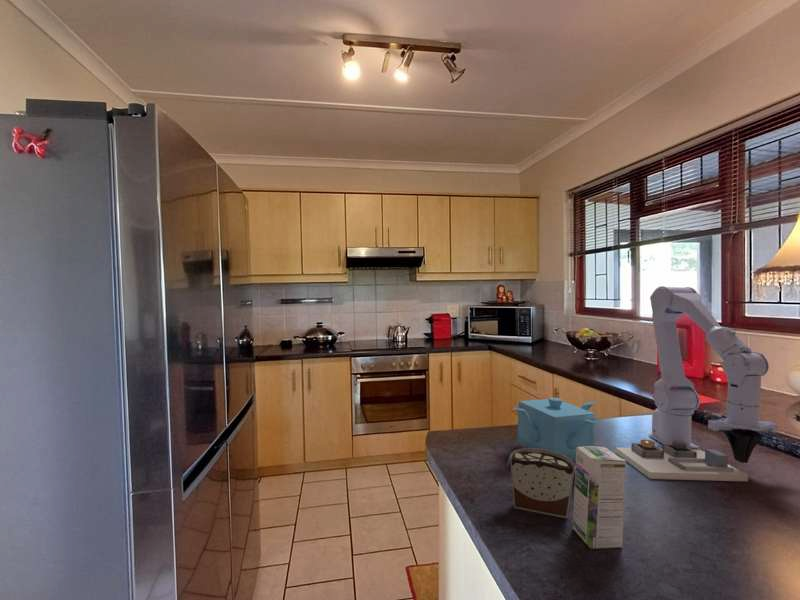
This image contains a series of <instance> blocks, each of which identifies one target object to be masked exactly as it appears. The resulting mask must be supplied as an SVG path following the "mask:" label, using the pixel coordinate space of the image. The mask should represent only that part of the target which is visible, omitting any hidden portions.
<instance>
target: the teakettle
mask: <svg viewBox="0 0 800 600" xmlns="http://www.w3.org/2000/svg"><path fill="white" fill-rule="evenodd" d="M595 404H596V402H594V401H593V402H592V401H589V402H585V403H583V404H582V405H580V407H579V406H577V405H573V404H572V403H568V402H566V401H563V399H561V398H558V397H549V398H543V399H531V400H519V401H518V407H515V408H512V410H513V411H514V412H516V413H517V440H516V442H518V443H519V444H521V445H522V446H524V447H525V448H539V449H545V450H550V451H554V452H557V453H560V454H562V455H564V456H566V457H568V458H569V459H571V460H572V461H573V462H574V464H576V448H577V447H584V446H595V441H596V439H595V438H596V425H597V424H599V421H596V413H594V412H592V411H589V410H590V409H591V407H593V406H594V405H595Z"/></svg>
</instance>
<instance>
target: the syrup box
mask: <svg viewBox="0 0 800 600" xmlns="http://www.w3.org/2000/svg"><path fill="white" fill-rule="evenodd" d="M626 471H627V461H626V460H624V459H623V458H621V457H620V456H619V455H617V454H616V453H614V452H613V451H611V450H609V448H607V447H603V446H596V445H594V446H584V447H577V448H576V463H575V473H574V488H573V490H574V491H573V512H572V513H573V514H572V529H573V531H575V533H576V534H577V535H578V536H579V537H580V539H582V541H583V542H584V544H586V545H587V547H589V549H595V550H596V549H614V548H615V549H616V548H623V542H624V541H623V540H624V539H623V538H624V537H623V536H624V535H623V534H624V521H625V520H624V519H625V516H624V515H625V498H626V495H625V494H626V475H627V474H626V473H627V472H626Z"/></svg>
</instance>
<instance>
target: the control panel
mask: <svg viewBox="0 0 800 600" xmlns="http://www.w3.org/2000/svg"><path fill="white" fill-rule="evenodd" d="M640 444H641V442H640V443H637V442H635V443H632V442H631V447H615V453H614V454H616V455H617V456H619V457H620V458H621V459H624V460H626V463H627V464H630V465H631V466H632V467H633V468H635V469H636V470H637V471H639V472H640V473H642V475H644V476H645V477H647V478H648V479H650V480H676V481H677V480H679V481H680V480H681V481H683V480H684V481H686V480H687V481H712V482H713V481H719V482H720V481H721V482H723V481H724V482H748V481H749V474H747V473H746V472H743V471H742V470H740V469H738V468H736V467H734V466H732V465H730V464H728V467H714V466H712V465H710V464H708V463H706V462H705V450H701V449H692V448H688V447H687V451H678V450H675V449H673V448H672V444H662V448H659V447H658V446H656V445H655V450H645V449H643V448H641V447H640Z"/></svg>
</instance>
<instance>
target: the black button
mask: <svg viewBox="0 0 800 600" xmlns="http://www.w3.org/2000/svg"><path fill="white" fill-rule="evenodd" d="M672 448H673V449H675V450H678V451H687V443H685V442H682V441H677V440H673V441H672Z"/></svg>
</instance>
